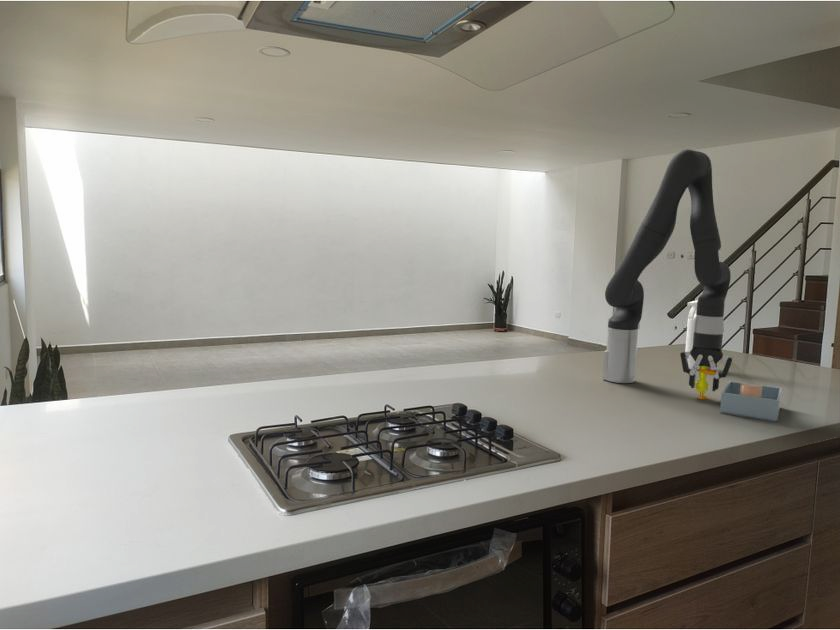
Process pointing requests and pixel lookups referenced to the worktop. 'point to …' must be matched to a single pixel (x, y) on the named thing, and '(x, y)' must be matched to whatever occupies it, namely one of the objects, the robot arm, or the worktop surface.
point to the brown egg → (751, 390)
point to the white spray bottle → (691, 331)
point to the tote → (751, 402)
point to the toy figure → (703, 380)
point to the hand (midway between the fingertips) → (703, 388)
